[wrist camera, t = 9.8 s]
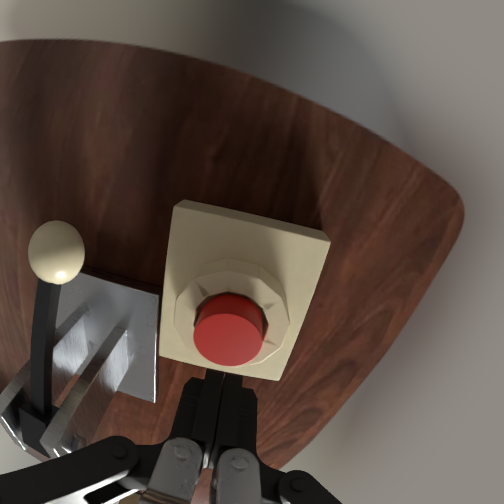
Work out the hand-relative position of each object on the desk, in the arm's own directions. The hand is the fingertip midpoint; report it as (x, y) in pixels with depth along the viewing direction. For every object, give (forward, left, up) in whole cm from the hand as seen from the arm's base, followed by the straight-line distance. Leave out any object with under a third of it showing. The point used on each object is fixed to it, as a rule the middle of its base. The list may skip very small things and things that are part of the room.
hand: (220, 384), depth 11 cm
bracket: (+7, -10, -9) cm, 15 cm away
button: (0, 0, -5) cm, 5 cm away
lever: (+3, -10, -2) cm, 11 cm away
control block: (0, 0, -9) cm, 9 cm away
